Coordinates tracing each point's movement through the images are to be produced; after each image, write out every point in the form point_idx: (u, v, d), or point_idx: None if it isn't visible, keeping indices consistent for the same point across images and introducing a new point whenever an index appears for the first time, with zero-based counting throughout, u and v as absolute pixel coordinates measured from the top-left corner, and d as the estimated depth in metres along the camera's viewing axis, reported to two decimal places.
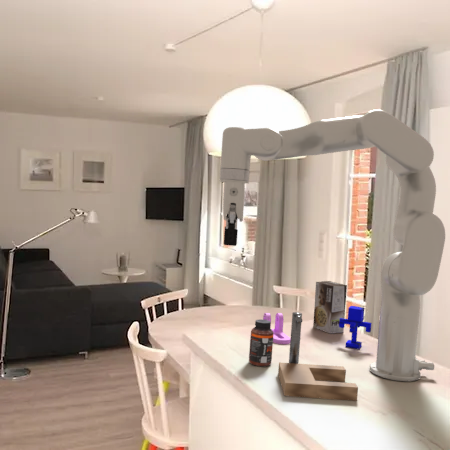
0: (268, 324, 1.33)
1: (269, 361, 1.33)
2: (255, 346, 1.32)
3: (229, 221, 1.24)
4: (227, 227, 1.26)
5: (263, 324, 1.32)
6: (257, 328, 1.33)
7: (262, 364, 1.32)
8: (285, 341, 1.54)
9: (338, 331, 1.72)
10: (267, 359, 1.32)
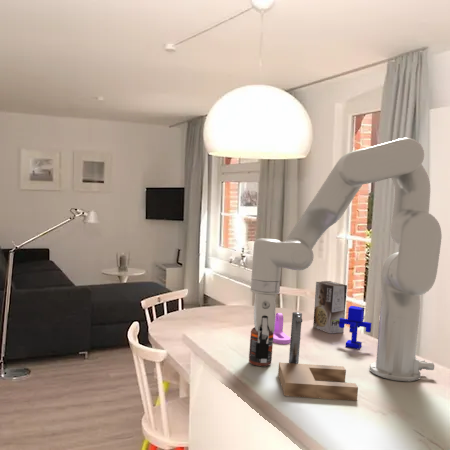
0: None
1: (269, 361, 1.33)
2: (255, 346, 1.32)
3: (261, 337, 1.28)
4: (259, 342, 1.30)
5: None
6: None
7: (262, 364, 1.32)
8: (285, 341, 1.54)
9: (338, 331, 1.72)
10: None
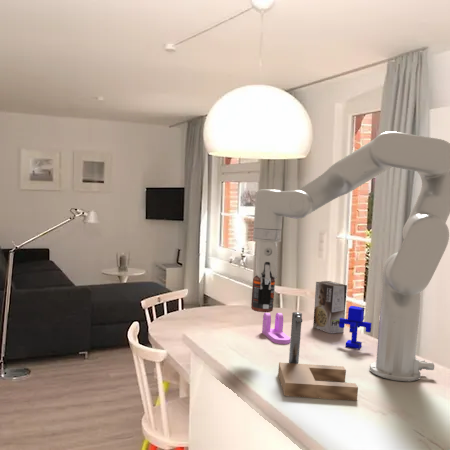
0: None
1: (271, 307, 1.38)
2: (257, 292, 1.37)
3: (264, 283, 1.33)
4: (261, 288, 1.34)
5: None
6: None
7: (264, 310, 1.36)
8: (285, 341, 1.54)
9: (338, 331, 1.72)
10: (269, 305, 1.37)
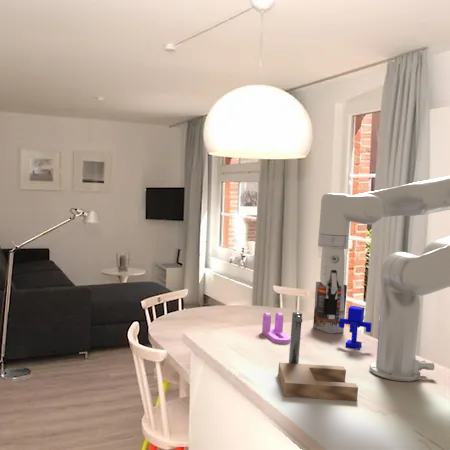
0: None
1: (337, 318, 1.30)
2: (322, 301, 1.30)
3: (330, 292, 1.26)
4: (327, 297, 1.27)
5: None
6: None
7: (330, 320, 1.29)
8: (285, 341, 1.55)
9: (338, 331, 1.72)
10: (335, 315, 1.29)
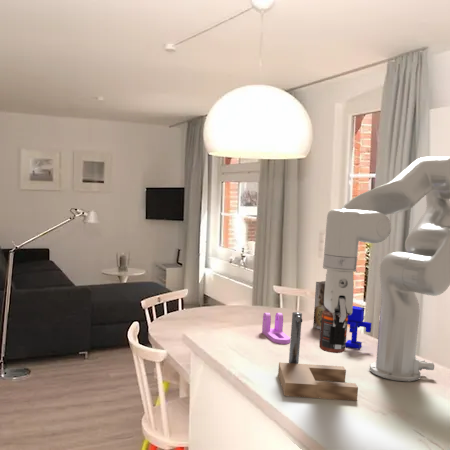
0: None
1: (343, 347, 1.18)
2: (328, 329, 1.17)
3: (338, 320, 1.13)
4: (335, 325, 1.15)
5: None
6: None
7: (336, 350, 1.17)
8: (285, 341, 1.55)
9: None
10: None
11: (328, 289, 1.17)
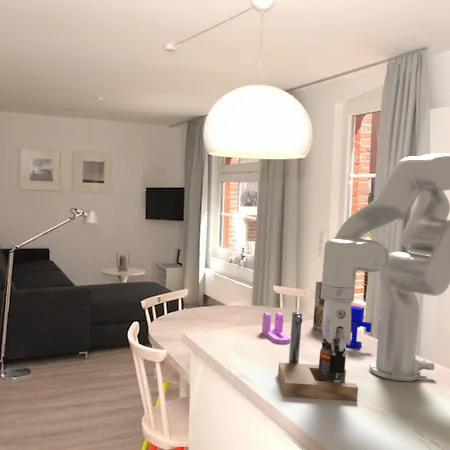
0: None
1: None
2: (326, 368, 1.18)
3: (338, 349, 1.12)
4: (334, 354, 1.13)
5: None
6: (328, 348, 1.18)
7: None
8: (285, 341, 1.55)
9: None
10: None
11: (326, 319, 1.18)
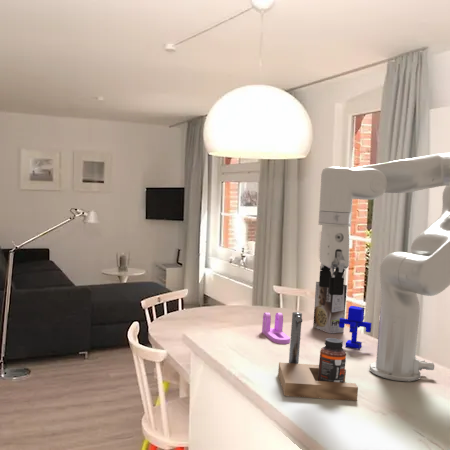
0: (341, 344, 1.18)
1: None
2: (326, 368, 1.18)
3: (338, 270, 1.15)
4: (334, 276, 1.17)
5: (335, 344, 1.18)
6: (328, 348, 1.18)
7: None
8: (285, 340, 1.55)
9: (338, 331, 1.72)
10: None
11: (324, 244, 1.21)
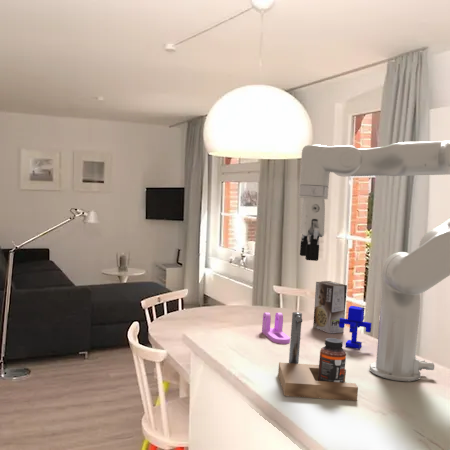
0: (341, 344, 1.18)
1: None
2: (326, 368, 1.18)
3: (313, 237, 1.27)
4: (310, 243, 1.29)
5: (335, 344, 1.18)
6: (328, 348, 1.18)
7: None
8: (284, 340, 1.55)
9: (338, 331, 1.72)
10: None
11: (303, 215, 1.33)
